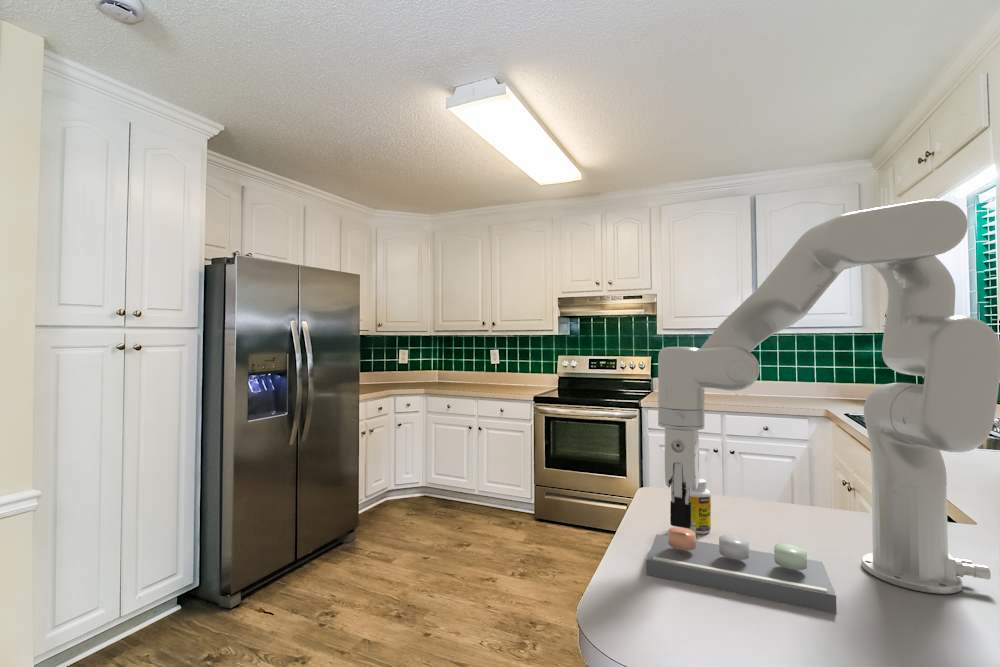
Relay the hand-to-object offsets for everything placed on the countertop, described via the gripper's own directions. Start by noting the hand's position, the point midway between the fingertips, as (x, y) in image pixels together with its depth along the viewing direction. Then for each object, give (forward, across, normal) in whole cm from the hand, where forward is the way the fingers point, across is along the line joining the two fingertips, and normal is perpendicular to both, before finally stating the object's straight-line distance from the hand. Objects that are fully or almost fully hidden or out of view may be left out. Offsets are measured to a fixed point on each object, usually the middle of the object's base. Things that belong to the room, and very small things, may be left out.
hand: (680, 525), depth 83 cm
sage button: (+3, 0, -16) cm, 16 cm away
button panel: (+7, 0, -8) cm, 11 cm away
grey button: (+3, 0, -8) cm, 9 cm away
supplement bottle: (+7, +19, -1) cm, 20 cm away
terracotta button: (+3, 0, 0) cm, 3 cm away
